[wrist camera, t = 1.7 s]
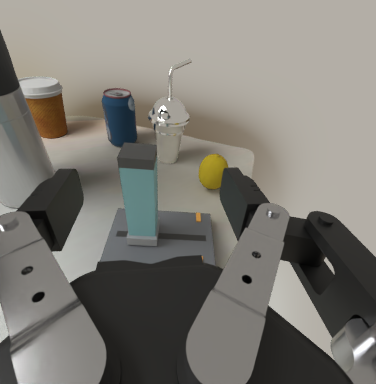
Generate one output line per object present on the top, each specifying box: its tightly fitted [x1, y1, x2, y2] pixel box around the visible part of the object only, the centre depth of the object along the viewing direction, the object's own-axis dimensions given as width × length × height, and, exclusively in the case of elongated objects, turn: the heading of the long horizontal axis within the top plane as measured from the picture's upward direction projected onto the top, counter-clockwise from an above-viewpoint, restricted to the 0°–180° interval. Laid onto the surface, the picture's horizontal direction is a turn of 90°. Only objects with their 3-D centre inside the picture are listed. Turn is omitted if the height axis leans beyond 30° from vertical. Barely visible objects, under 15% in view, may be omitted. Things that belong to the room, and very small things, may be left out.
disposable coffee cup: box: [18, 77, 67, 138], centre depth 51 cm, size 10×10×12 cm
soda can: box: [102, 88, 137, 148], centre depth 50 cm, size 7×7×12 cm
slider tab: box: [117, 142, 160, 246], centre depth 26 cm, size 4×4×14 cm
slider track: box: [100, 208, 215, 266], centre depth 32 cm, size 15×10×2 cm, turn 90°
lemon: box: [199, 154, 228, 189], centre depth 41 cm, size 6×6×8 cm
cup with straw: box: [148, 59, 191, 164], centre depth 44 cm, size 8×9×20 cm
